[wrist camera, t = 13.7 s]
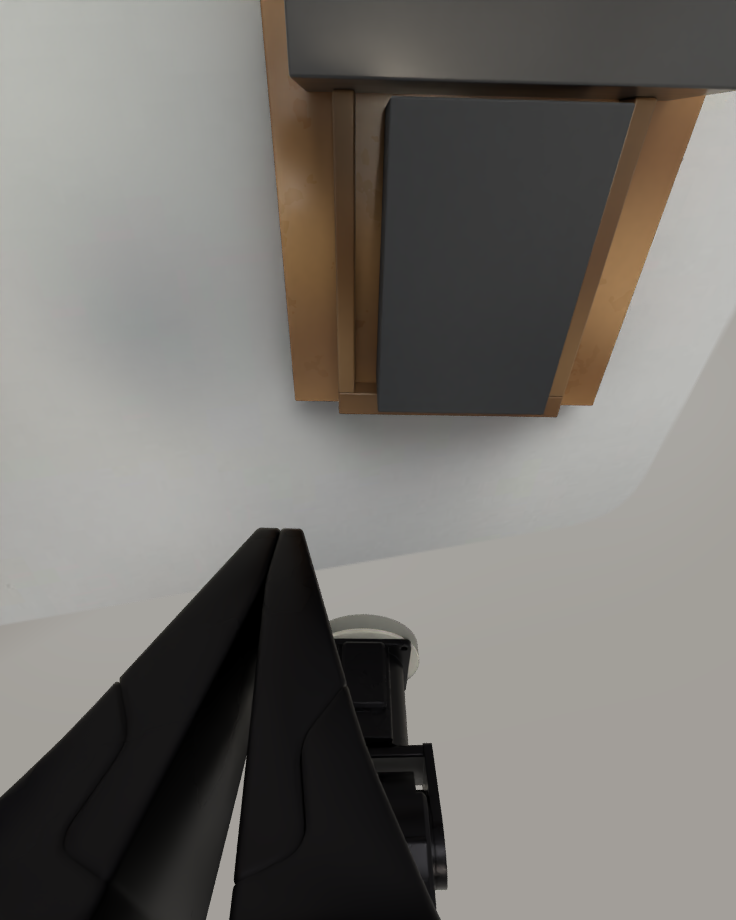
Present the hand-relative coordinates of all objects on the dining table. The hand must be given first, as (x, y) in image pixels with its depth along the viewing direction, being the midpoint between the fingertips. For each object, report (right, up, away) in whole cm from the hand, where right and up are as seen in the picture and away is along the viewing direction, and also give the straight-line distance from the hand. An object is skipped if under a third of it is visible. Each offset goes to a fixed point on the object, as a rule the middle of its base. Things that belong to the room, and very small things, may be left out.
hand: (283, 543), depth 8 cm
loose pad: (+5, +8, +6) cm, 11 cm away
